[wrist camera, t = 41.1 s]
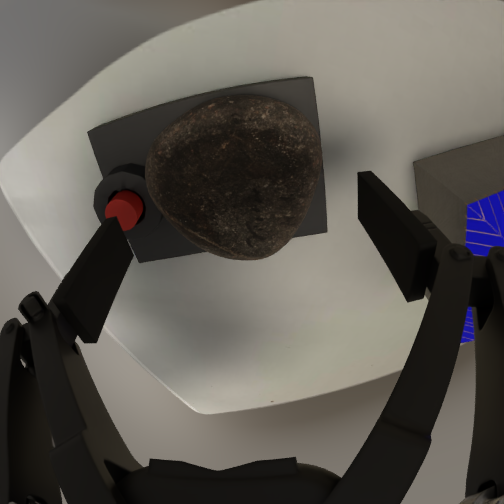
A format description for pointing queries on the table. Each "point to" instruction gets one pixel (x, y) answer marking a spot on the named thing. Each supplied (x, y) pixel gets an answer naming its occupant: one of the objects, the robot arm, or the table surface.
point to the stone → (236, 174)
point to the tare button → (125, 208)
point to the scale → (137, 147)
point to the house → (465, 199)
